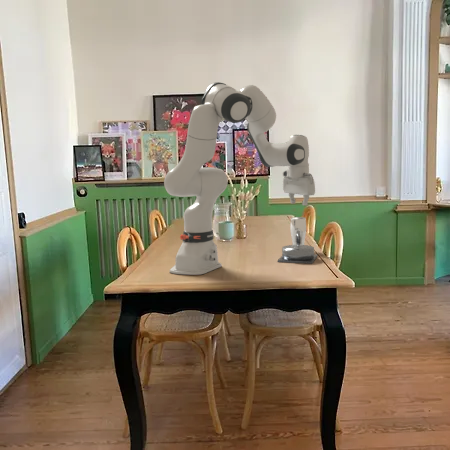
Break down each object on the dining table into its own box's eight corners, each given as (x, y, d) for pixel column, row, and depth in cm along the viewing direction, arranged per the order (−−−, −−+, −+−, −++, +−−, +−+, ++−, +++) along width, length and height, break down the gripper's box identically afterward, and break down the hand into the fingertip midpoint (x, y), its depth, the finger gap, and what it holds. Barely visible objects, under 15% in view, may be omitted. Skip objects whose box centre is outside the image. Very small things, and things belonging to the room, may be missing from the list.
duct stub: (312, 263, 193) (312, 251, 192) (277, 261, 198) (277, 250, 197) (317, 256, 206) (317, 245, 205) (285, 254, 211) (285, 244, 210)
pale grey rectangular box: (308, 250, 218) (308, 217, 216) (302, 253, 213) (302, 219, 211) (294, 249, 222) (294, 216, 220) (287, 251, 217) (287, 218, 214)
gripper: (318, 173, 204) (318, 206, 206) (292, 171, 222) (292, 201, 224) (306, 173, 201) (306, 207, 203) (280, 172, 220) (280, 202, 222)
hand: (298, 204), depth 214 cm, fingers open, 8 cm apart
